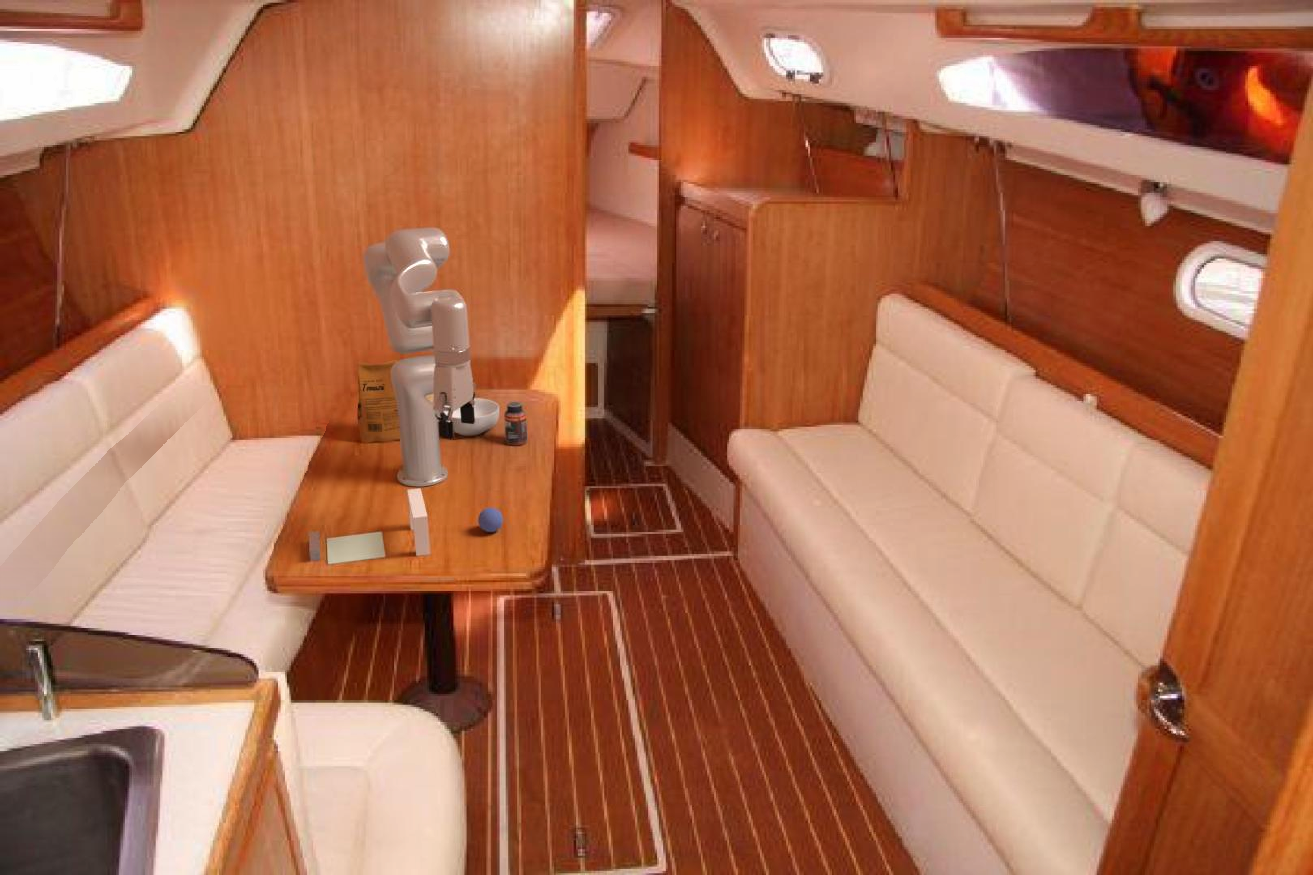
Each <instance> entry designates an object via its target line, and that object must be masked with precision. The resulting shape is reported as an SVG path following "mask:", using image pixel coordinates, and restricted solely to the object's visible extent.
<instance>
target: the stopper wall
mask: <svg viewBox="0 0 1313 875" xmlns="http://www.w3.org/2000/svg"><path fill="white" fill-rule="evenodd" d="M319 532H320V531H319V530H317V531H310V532H308V539H309V540H308V541H309V543H308V545H309V558H310V562H317V561H321V540H320V533H319Z"/></svg>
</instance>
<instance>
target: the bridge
mask: <svg viewBox="0 0 1313 875" xmlns="http://www.w3.org/2000/svg"><path fill="white" fill-rule="evenodd" d="M406 492H407V501H408V502H407V504H408V513H409V514H408V515H409V525H410V526H409V528H410V530H411V531H413V534H414V535H413V536H414V547H415V548H414V549H415V556H416V557H418V556H419V557H420V556H429V555H431V546H430V545H431V544H430V532H429V520H428V513H427V510H426V505H425V500H424V496H423V493H422V489H421V488H411V489H407V491H406Z"/></svg>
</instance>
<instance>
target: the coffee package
mask: <svg viewBox="0 0 1313 875" xmlns="http://www.w3.org/2000/svg"><path fill="white" fill-rule="evenodd" d="M398 361H399V360H397V359H393V360H389V361H386V362H381V363H370V362H369V363H368V362H359V361H358V362H357V380H358V382H357V384H358V402H357V410H356V413H357V414H356V415H357V416H356V418H357V423H358V424H357V425H358V429H359V434H360V435H359V436H360V440H361V441H362V442H363V443H364V444H367V443H368V444H370V443H374V442H381V443H390V442H396V441H400V431H399V420H398V410H397V402H396V397H395V393H394V389H393V385H392V381H391V368H392V366H393V365H394V364H395V363H396V362H398Z"/></svg>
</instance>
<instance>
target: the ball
mask: <svg viewBox="0 0 1313 875" xmlns="http://www.w3.org/2000/svg"><path fill="white" fill-rule="evenodd" d="M477 522H478V525H479V528H481V529H482V530H483V531H484V532H487V533H494V532H497V531H498V530H500V528H501V527H502V526H503V523H504V517H503V514H502V512H501V511H500V510H498V509H497V508H495V507H486V508H484V509H483V510H482V511H481V512H480V513H479V515H478V519H477Z"/></svg>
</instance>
